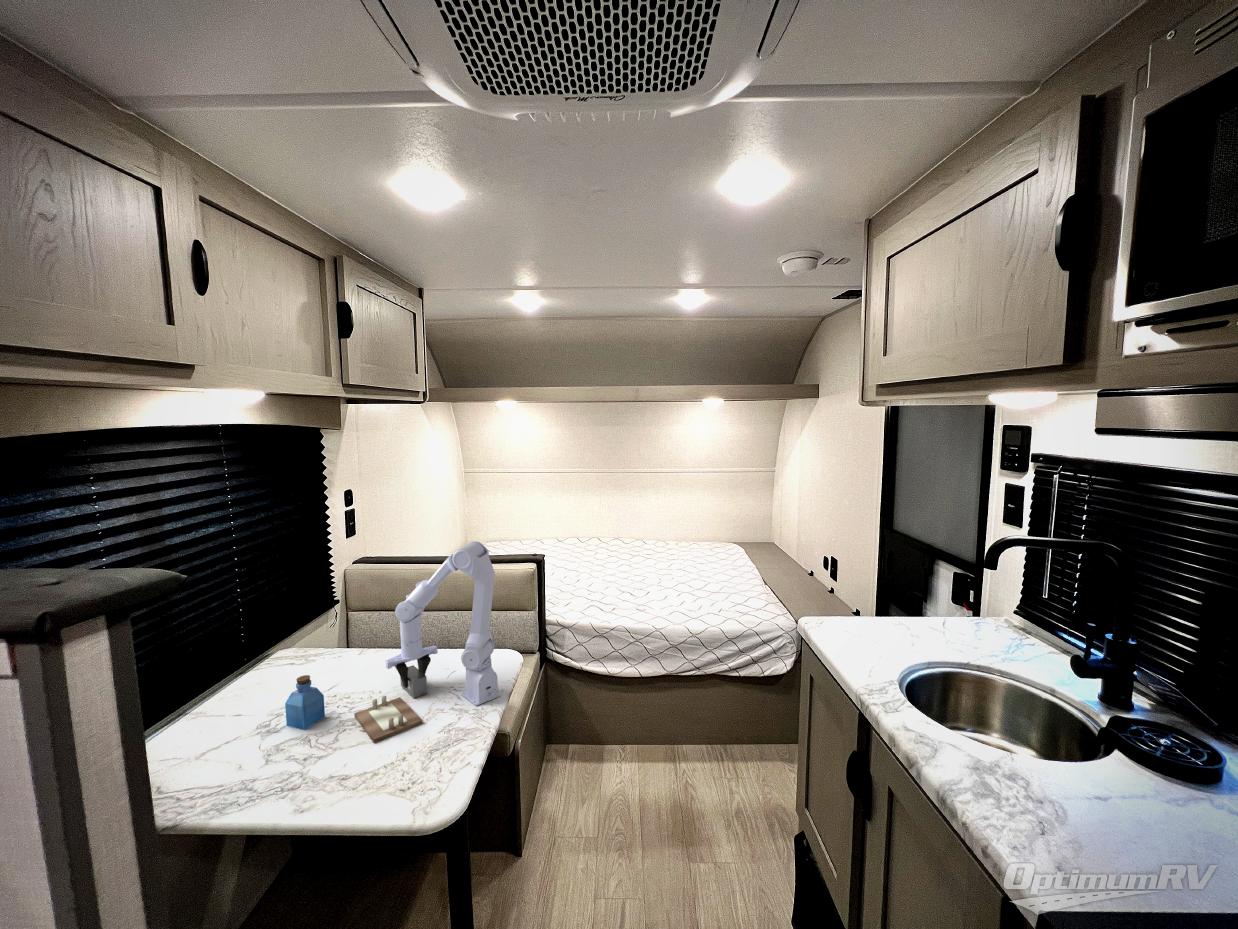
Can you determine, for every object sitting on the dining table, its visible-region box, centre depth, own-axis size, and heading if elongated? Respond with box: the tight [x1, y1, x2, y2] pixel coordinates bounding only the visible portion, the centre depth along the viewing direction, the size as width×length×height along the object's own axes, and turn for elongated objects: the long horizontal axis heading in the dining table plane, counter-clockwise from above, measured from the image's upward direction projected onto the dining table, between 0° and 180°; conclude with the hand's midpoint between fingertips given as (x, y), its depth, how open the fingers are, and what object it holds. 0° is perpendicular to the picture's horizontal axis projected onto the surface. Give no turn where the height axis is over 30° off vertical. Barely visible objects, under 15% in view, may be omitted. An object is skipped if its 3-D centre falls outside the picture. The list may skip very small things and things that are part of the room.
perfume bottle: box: [284, 674, 326, 731], centre depth 135 cm, size 6×6×12 cm
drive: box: [399, 664, 428, 699], centre depth 151 cm, size 10×4×5 cm, turn 43°
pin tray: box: [354, 695, 423, 744], centre depth 135 cm, size 16×12×4 cm
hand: (413, 683), depth 151 cm, fingers closed on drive, 4 cm apart
